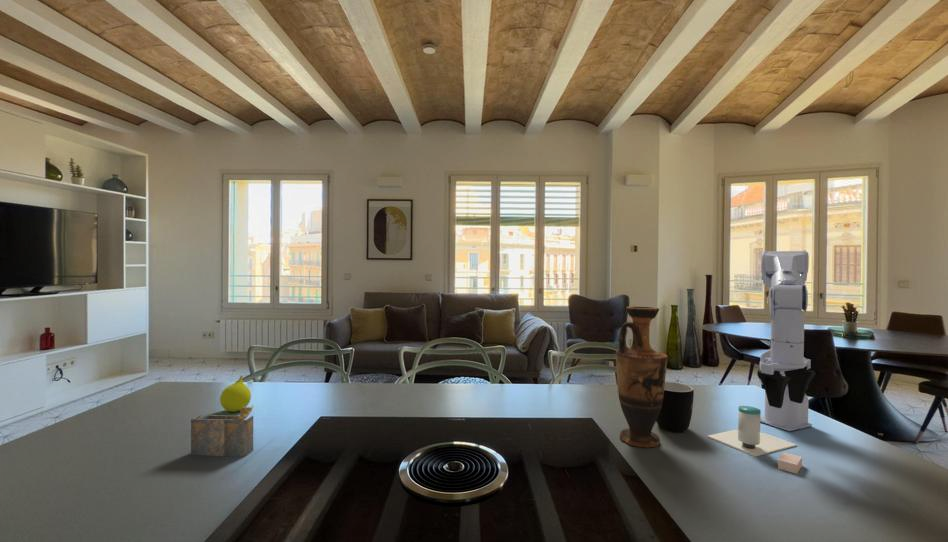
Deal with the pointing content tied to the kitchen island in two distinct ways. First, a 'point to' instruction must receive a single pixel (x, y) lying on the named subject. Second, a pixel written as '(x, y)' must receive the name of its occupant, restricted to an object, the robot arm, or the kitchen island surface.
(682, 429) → the mug
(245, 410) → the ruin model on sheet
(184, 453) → the kitchen island surface
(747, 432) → the white and green cylinder
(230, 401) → the yellow rounded piece
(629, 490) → the kitchen island surface
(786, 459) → the eraser
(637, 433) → the vase
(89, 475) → the kitchen island surface
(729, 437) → the paper
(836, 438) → the kitchen island surface
